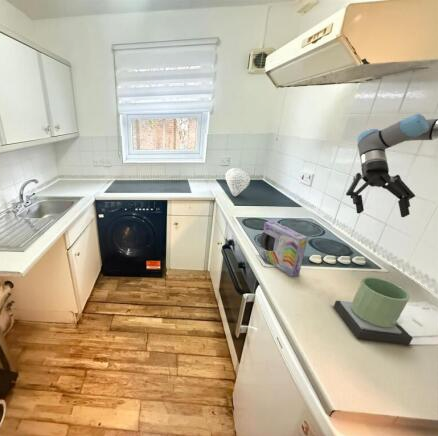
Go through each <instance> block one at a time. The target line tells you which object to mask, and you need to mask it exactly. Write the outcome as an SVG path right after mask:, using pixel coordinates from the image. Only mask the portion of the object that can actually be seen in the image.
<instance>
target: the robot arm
mask: <svg viewBox="0 0 438 436" xmlns="http://www.w3.org/2000/svg"><path fill="white" fill-rule="evenodd" d="M437 138H438V118H433V119H432V118H431V119H426V117H425V116H424V115H422V113H416V114H412V115H410V116H408V117H405V118H403V119H402V120H400V121H397V122H395V123H394V124H391V125H389V126H387V127H385V128H383V129H381V130H380V129H379V128H378V129H377V128H371V129H369V130H365V131H363V132H361V133H360V134H359V135H358V136H357V149H358V154H359V160H360V168H361V172H357V173H355V175H354V176H353V177H352V178H353V179H352V182H351V184H350V186H349V188H348V189H347V191H346V193H345V195H346V197H347V196H348V197H349V196H350V199H352V203H353V205H355V209H356V214H361V213H363V212H364V211H365V210H364V203H363V196H362V194H361V193H362V192H363V191H364V190H365V189H366V188H367V187H368V186H370V187H373V188H374V187H377V188H383V189H384V190H387V191H388V192H390V194H392V195H393V196H395V197H396V198H397V199H398V200H397V204H398V208H399V213H400V217H401V218H405V217H408V216H409V215H410V214H411V212H410V207H411V204H410V200H412V199H414V198H415V197H416V194H415V193H414V192H413V191H412V190H411V188H409V186H408V185H406V183H405V182H404V181H403V180H402V178H401V175H399V174H395V175H393V176H392V175H390V173H389V172H390V168H389V164H388V163H389V162H388V158H387V154H386V149H389V148H392V147H394V146H397V145H399V144H402V143H405V142H410V141H435V140H434V139H437ZM360 180H363V182H365V183H363V184H362V185H361V186H360V187H359V188H358V189H357V190H356V191H355V189H356V188H357V186H358V184H359V182H360Z"/></svg>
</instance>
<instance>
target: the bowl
mask: <svg viewBox="0 0 438 436" xmlns="http://www.w3.org/2000/svg"><path fill="white" fill-rule="evenodd" d="M410 298H411V295H410V293H409V292H408V291H407V290H406V289H405V288H403V287H402V286H400V285H399V284H396V283H395V282H392V281H390V280H387V279H384V278H380V277H375V276H374V277H373V276H367V277H363V278H362V279H361V281H360V283H359V286H358V288H357V290H356V292H355V295H354V297H353V299H352V301H351V302H352V304H351V308H352V310H353V311H354V312H355V314H356V315H358V316H359V317H360V318H361V319H363V320H365V321H366V322H368V323H371V324H373V325H376V326H381V327H393V326H395V324H396V322H397V323H398V320H399V319H400V316H401V315H402V313H403V312H404V309H405V308H406V305H408V304H407V303H408V302H409V300H410Z"/></svg>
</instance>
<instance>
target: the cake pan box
mask: <svg viewBox="0 0 438 436" xmlns="http://www.w3.org/2000/svg"><path fill="white" fill-rule="evenodd" d="M307 241H308V236H306V235H304V234H302V233H299V232H297V231H295V230H294V229H292V228H290V227H288V226H286V225H282V224H280V223H278V222H276V221H274V220H269V221H265V222H264V226H263V232H262V233H261V236H260V250H259V256H260V258H262V259H264V260H266V261H267V262H269V263H270V264H272V265H273V266H274V267H276V268H277V269H278V270H281V271H282V272H283V273H285V274H286V275H288V276H290V277H295V276H299V275H300V272H301V269H302V263H303V260H304V255H305V251H306V247H307V243H308V242H307Z"/></svg>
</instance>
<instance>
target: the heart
mask: <svg viewBox="0 0 438 436" xmlns="http://www.w3.org/2000/svg"><path fill="white" fill-rule="evenodd" d="M224 177H225V181H226V183H227V186H228V188H229V191H230V193H231V195H232V196H233V197H237V196H238V195H240V193H242V192H243V191H244V190H245V189H246V188H247V187H249V185H250V182H251V176H250V175H249V173H247V172H246V171H244V170H243V169H242V168H239V167H232V168H230V169H228V170H227V171H226V172H225V175H224ZM235 178H236V180H235Z"/></svg>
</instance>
